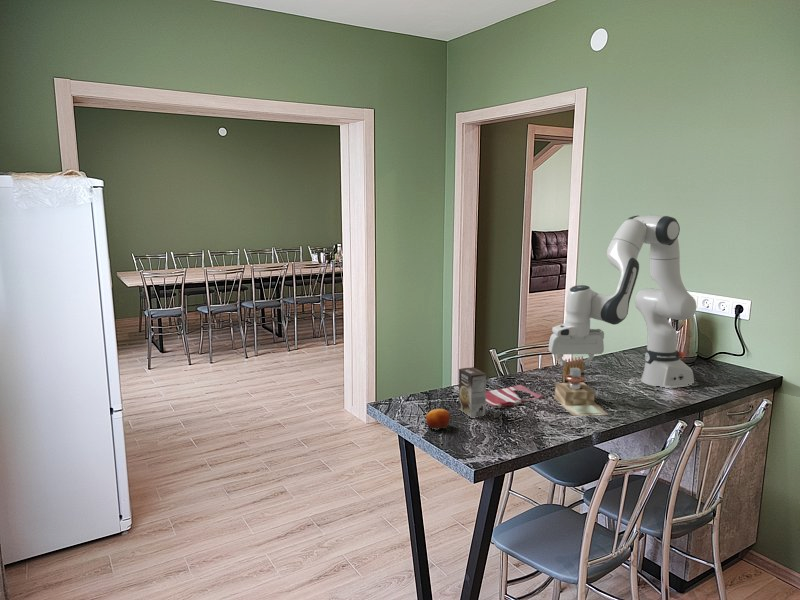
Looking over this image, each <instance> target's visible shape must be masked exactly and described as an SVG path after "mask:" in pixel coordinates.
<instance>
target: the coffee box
mask: <svg viewBox="0 0 800 600" xmlns="http://www.w3.org/2000/svg"><path fill="white" fill-rule="evenodd" d="M486 391H487V373H486V372H484V371H482V370H481V369H477V368H476V367H463V368H458V410H459V409H460V410H461V411H462V412H464V413H465V414H467V415H468V416H470V417H476V416H483V415H485V416H486Z"/></svg>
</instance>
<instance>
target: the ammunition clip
mask: <svg viewBox="0 0 800 600" xmlns="http://www.w3.org/2000/svg"><path fill="white" fill-rule="evenodd" d="M564 360H565V361H566V366H563V370H562V376H561V383H569V382H570V381H567V380H566V375H567V374H570V368H579V369H580V370H581V375H584V376H585V372H584V368H585V364H584V357H583V356H582V355H581V358H580V356H578V358H577V357H576V356H575V358H574V357H572V358H571V359H570V357H569V358H568V359H567V358H565V359H564Z"/></svg>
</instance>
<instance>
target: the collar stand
mask: <svg viewBox="0 0 800 600" xmlns="http://www.w3.org/2000/svg"><path fill="white" fill-rule="evenodd" d="M595 395H596V392H595V390H594V389H592V388H591V387H590V386H589V385H588V384H586V382H585V381H584V382H581V383H580V389H572V390H571V389H570V388H569V383H562V382H556V383H555V391H554V394H552V397H554V399H555V400H556V401H557V402H558V403H559V404H561V406H562V407H563V408H564V409H565V410H566V411H567V412H568V413H569V414H570V415H572V416H573V417H576V416H577V417H579V416H602V415H603V416H604V415H605V416H608V415H609V413H607V412H606V411H605V410H604V409H603V408H602V407H601V406H600V405H599V404H597V403H596V402H595Z"/></svg>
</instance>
